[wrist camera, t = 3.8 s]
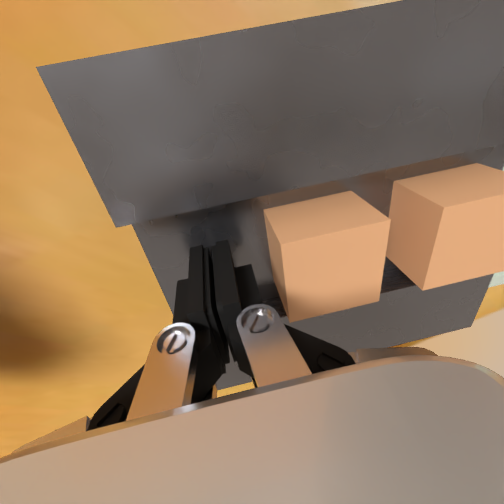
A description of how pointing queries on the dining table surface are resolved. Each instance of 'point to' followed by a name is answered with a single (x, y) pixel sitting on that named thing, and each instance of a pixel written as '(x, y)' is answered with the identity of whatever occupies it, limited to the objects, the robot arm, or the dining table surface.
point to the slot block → (292, 141)
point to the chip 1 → (326, 253)
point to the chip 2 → (448, 225)
